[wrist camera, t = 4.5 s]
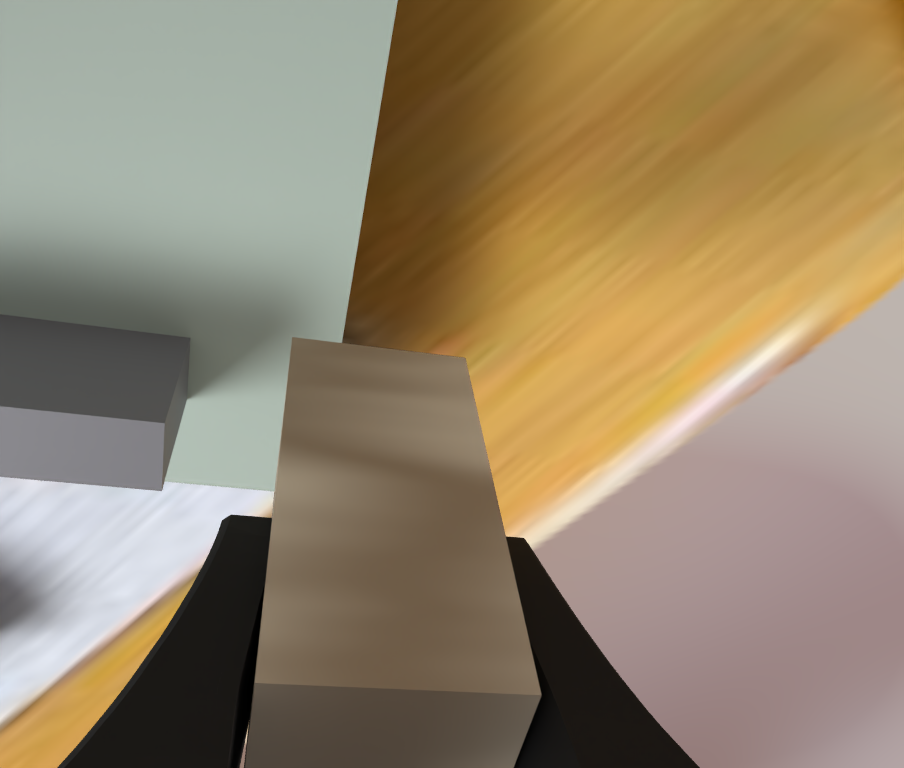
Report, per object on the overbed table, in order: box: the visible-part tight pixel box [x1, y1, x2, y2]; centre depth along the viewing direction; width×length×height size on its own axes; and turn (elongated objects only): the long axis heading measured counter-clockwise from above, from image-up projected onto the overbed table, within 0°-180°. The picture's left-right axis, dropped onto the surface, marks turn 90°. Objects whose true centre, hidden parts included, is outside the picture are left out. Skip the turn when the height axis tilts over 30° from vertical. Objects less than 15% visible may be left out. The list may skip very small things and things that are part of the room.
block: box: [244, 337, 541, 768], centre depth 12 cm, size 3×3×7 cm
